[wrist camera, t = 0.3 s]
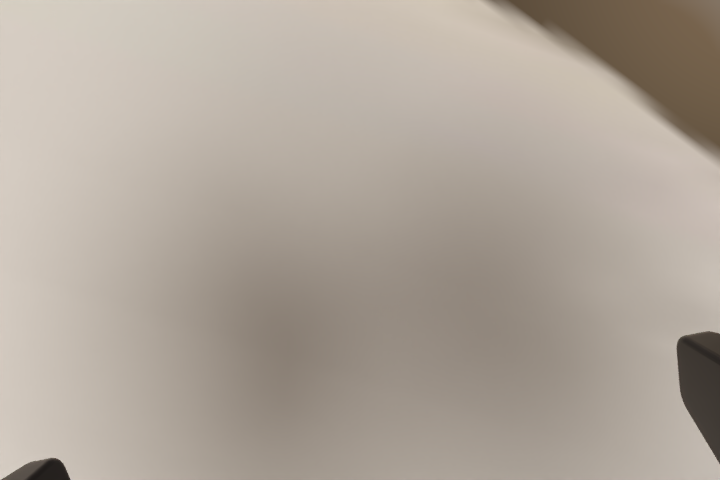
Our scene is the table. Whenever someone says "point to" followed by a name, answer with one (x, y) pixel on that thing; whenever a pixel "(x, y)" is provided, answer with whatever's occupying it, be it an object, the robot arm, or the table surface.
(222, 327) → the table surface
